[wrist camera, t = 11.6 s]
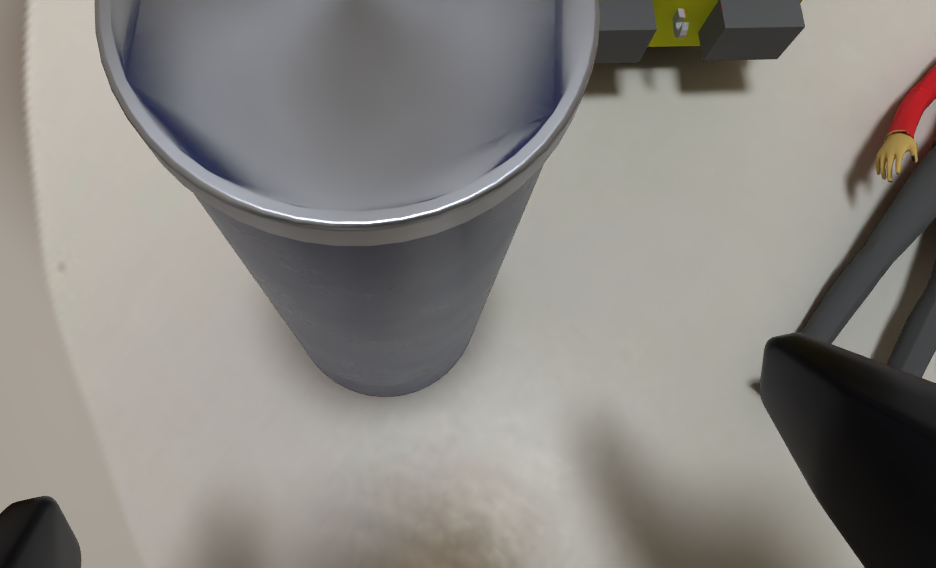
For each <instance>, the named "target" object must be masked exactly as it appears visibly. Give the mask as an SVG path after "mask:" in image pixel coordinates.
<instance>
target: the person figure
mask: <svg viewBox="0 0 936 568" xmlns="http://www.w3.org/2000/svg"><path fill="white" fill-rule="evenodd" d="M934 99H936V64H935V65H934V66H933V67H932V68H931V69H930V70H929V72H928V73H927V74H926V75H925V76H924V77H923V78H922V79H921V80H920V81H919V82H918V83H917V84H916V85H915V86H914V87H913V88H912V89H911V90H910V91H909V92H908V94H907V95H906V97H905V98H904V100H903V101H902V102H901V103H900V105H899V107H898V109H897V111H896V113H895V115H894V118H893V121H892V124H891V126H890V129H889V131H888V134H887V136H886V138H885V140H884V145H883V146H882V147H881V149H880V150H879V152H878V153H877V157H876V171H877V174H878V175H879V174H880V170H881V174H882V178H883V179H886V169H885V165H886V161H887V165H886V168H887V178H888V182H890V183H891V182H892V166H893V161H894V159H895V158H896V174H900V171H901V162H902V158H903V155H904V153H905V152H907V151H909V152H910V154H911V157H912V161H913V162H914V163H916V162H918V157H917V143H916V142H915V140H914V139H913V138H914V133H915V130H916V127H917V125H918V123H919V120H920V118H921V116H922V114H923V112H924V110H925V109H926V108H927V107H928V106H929V105H930V104H931V103H932V102H933V100H934ZM935 218H936V140H935V141H934V142H933V143H932V145H931V147H930V149H929V151H928V154H927V155H926V156H925V157H924V158H923V159H922V161H921V162H920V164H919V165H918V166H917V167H916V168H915V170H914V171H913V173H912V174H911V176H910V177H909V179H908V181H907V182H906V183H905V185H904V186H903V187H902V189H901V190H900V192H899V193H898V195H897V196H896V198H895V199H894V201H893V203H892V204H891V206H890V207H889V209H888V210H887V212H886V213H885V215H884V216H883V217H882V219H881V220H880V222H879V223H878V225H877V226H876V228H875V229H874V230H873V232H872V233H871V235H870V237H869V239H868V241H867V243H866V245H865V246H864V247H863V248H862V249H861V250H860V251H859V253H858V254H857V255H856V256H855V257H854V258H853V260H852V261H851V262H850V263H849V265H848V266H847V267H846V268H845V269H844V271H843V272H842V273H841V274H840V276H839V277H838V278H837V280H836V281H835V282H834V284H833V285H832V287H831V288H830V289H829V291H828V292H827V294H826V295H825V297H824V298H823V300H822V301H821V303H820V304H819V306H818V307H817V309H816V310H815V312H814V313H813V315H812V316H811V318H810V319H809V321H808V322H807V324H806V325H805V327H804V328H803V330H802V331H801V333H802V334H805V335H808V336H811V337H813V338H816V339H819V340H821V341H824V342H827V343H829V344H831V343H832V342H833V341H834V340H835V338H836V337H837V336H838V334H839V333H840V332H841V330H842V329H843V328H844V326H845V325H846V324H847V322H848V321H849V320H850V318H851V317H852V316H853V314H854V313H855V312H856V311H857V309H858V308H859V307H860V305H861V304H862V303H863V301H864V300H865V299H866V297H867V296H868V295H869V294H870V292H871V291H872V290H873V288H874V287H875V285H876V284H877V283H878V281H879V280H880V279H881V277H882V276H883V275H884V273H885V272H886V271H887V270H888V268H889V267H890V266H891V264H892V263H893V262H894V261H895V260H896V259H897V258H898V257H899V256H900V255H901V254H902V253H903V252H904V251H905V250H906V249H907V248H908V247H909V246H910V244H911V243H912V242H913V241H914V240H915V239H916V238H917V237H918V236H919V235H920V234H921V233H922V232H923V231H924V230H925V228H926V227H927V226H928V225H929V224H930V223H931V222H932V221H933V220H934V219H935ZM935 350H936V260H935V263H934V267H933V270H932V273H931V277H930V279H929V281H928V284H927V286H926V288H925V290H924V293H923V295H922V296H921V298H920V299H919V300H918V302H917V304H916V305H915V307H914V308H913V310H912V312H911V313H910V315H909V317H908V319H907V321H906V323H905V325H904V327H903V329H902V331H901V334H900V336H899V338H898V340H897V342H896V344H895V347H894V349H893V351H892V353H891V355H890V358H889V360H888V363H887V365H888V366H891V367H893V368H896V369H899V370H901V371H904V372H907V373H909V374H912V375H915V376H917V377H920V378H922V376H923V374H924V372H925V370H926V368H927V366H928V364H929V362H930V360H931V358H932V356H933V354H934V352H935Z"/></svg>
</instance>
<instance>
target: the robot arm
mask: <svg viewBox="0 0 936 568" xmlns="http://www.w3.org/2000/svg"><path fill="white" fill-rule="evenodd" d="M760 395H761V399H762V402H763V404H764V406H765V408H766V410H767V412H768V414H769V415H770V417H771V419H772V421H773V422H774V424H775V426H776V428H777V430H778V431H779V433H780V435H781V437H782V439H783V440H784V442H785V444H786V446H787V447H788V449H789V451H790V453H791V455H792V456H793V458H794V460H795V462H796V464H797V465H798V467H799V469H800V471H801V472H802V474H803V476H804V478H805V480H806V481H807V483H808V485H809V487H810V488H811V490H812V492H813V493H814V495H815V497H816V498H817V500H818V501H819V503H820V504H821V506H822V507H823V509H824V510H825V512H826V513H827V515H828V516H829V518H830V519H831V520H832V522H833V523H834V525H835V526H836V527H837V529H838V530H839V532H840V533H841V535H842V536H843V537H844V539H845V540H846V542H847V543H848V544H849V546H850V547H851V549H852V550H853V551H854V553H855V554H856V556H857V557H858V558H859V560H860V561H861V563H862V564H863V566H864V567H865V568H936V383H933V382H931V381H928V380H925V379H923V378H920V377H917V376H915V375H912V374H909V373H907V372H904V371H901V370H899V369H896V368H893V367H891V366H888V365H885V364H883V363H880V362H877V361H875V360H872V359H869V358H867V357H864V356H861V355H859V354H856V353H853V352H851V351H848V350H845V349H843V348H840V347H837V346H835V345H832V344H829V343H827V342H824V341H821V340H819V339H816V338H813V337H811V336H808V335H805V334H802V333H790V334H786V335H781V336H776V337H773V338H771V339H769V340H768V341H767V343H766V345H765V349H764V356H763V364H762V372H761V379H760ZM0 568H81V551H80V547H79V543H78V541H77V539H76V537H75V535H74V533H73V531H72V530H71V528H70V526H69V524H68V522H67V520H66V518H65V516H64V514H63V513H62V511H61V509H60V507H59V505H58V504H57V502H56V501H55V500H54V499H53V498H52V497H49V496H41V497H36V498H32V499H27V500H23V501H18V502H15V503H13V504H11V505H10V506H8V507H7V508H6V509H5V510H4V511H3V512H2V513H1V514H0Z"/></svg>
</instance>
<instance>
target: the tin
mask: <svg viewBox="0 0 936 568" xmlns="http://www.w3.org/2000/svg"><path fill="white" fill-rule="evenodd" d="M599 24H600V10H599V0H95V27H96V37H97V42H98V47H99V52H100V57H101V62H102V65H103V67H104V70H105V73H106V76H107V78H108V81H109V84H110V87H111V89H112V92H113V94H114V95H115V97H116V99H117V101H118V103H119V104H120V106H121V108H122V110H123V112H124V114H125V115H126V117H127V119H128V120H129V121H130V123H131V124H132V125H133V127H134V128H135V130H136V131H137V132H138V134H139V135H140V136H141V138H142V139H143V140H144V141H145V143H146V144H147V145H148V147H149V148H150V149H151V151H152V152H153V153H154V155H155V156H156V157H157V159H158V160H159V161H160V163H161V164H162V165H163V166H164V167H165V168H166V169H167V170H168V171H169V172H170V173H171V174H172V175H173V176H174V177H175V178H176V179H177V180H178V181H179V182H181V183H182V184H183V185H184V186H185V187H186V188H188V189H189V190H190V191H192V192H193V193H194V195H195V196H196V197H197V199H198V200H199V202H200V203H201V204H202V206H203V207H204V209H205V210H206V211H207V213H208V214H209V216H210V217H211V218H212V220H213V221H214V223H215V224H216V225H217V227H218V228H219V230H220V231H221V232H222V234H223V235H224V237H225V238H226V239H227V241H228V242H229V244H230V245H231V246H232V248H233V249H234V251H235V252H236V253H237V255H238V256H239V258H240V259H241V260H242V262H243V263H244V265H245V266H246V267H247V269H248V270H249V272H250V273H251V274H252V276H253V277H254V279H255V280H256V281H257V283H258V284H259V286H260V287H261V288H262V290H263V291H264V293H265V294H266V296H267V297H268V298H269V300H270V301H271V303H272V304H273V305H274V307H275V308H276V310H277V311H278V312H279V314H280V315H281V317H282V318H283V319H284V321H285V322H286V324H287V325H288V326H289V328H290V329H291V331H292V332H293V333H294V335H295V336H296V338H297V339H298V340H299V342H300V343H301V345H302V346H303V347H304V349H305V350H306V352H307V353H308V354H309V356H310V357H311V358H312V360H313V361H314V362H315V364H316V365H317V366H318V367H319V368H320V369H321V370H322V371H323V372H324V373H325V374H326V375H327V376H328V377H330V378H331V379H332V380H334V381H335V382H337V383H338V384H340V385H342V386H344V387H345V388H348V389H350V390H353V391H355V392H358V393H362V394H366V395H372V396H398V395H405V394H408V393H412V392H415V391H418V390H420V389H423V388H425V387H427V386H429V385H431V384H432V383H434V382H436V381H437V380H439V379H440V378H441V377H442V376H444V375H445V374H446V373H447V372H448V371H449V370H450V369H451V368H452V367H453V366H454V365H455V364H456V363H457V361H458V360H459V359H460V357H461V356H462V354H463V352H464V351H465V349H466V347H467V345H468V343H469V340H470V338H471V336H472V333H473V331H474V329H475V326H476V324H477V321H478V319H479V317H480V314H481V312H482V310H483V307H484V305H485V302H486V300H487V298H488V295H489V293H490V291H491V288H492V286H493V283H494V281H495V279H496V276H497V274H498V272H499V269H500V267H501V264H502V262H503V260H504V257H505V255H506V252H507V250H508V248H509V245H510V243H511V241H512V238H513V236H514V233H515V231H516V229H517V226H518V224H519V222H520V219H521V217H522V214H523V212H524V210H525V207H526V205H527V203H528V200H529V198H530V195H531V193H532V191H533V188H534V186H535V184H536V181H537V179H538V176H539V174H540V172H541V169H542V167H543V165H544V162H545V161H546V160H547V158H548V157H549V156H550V155H551V153H552V152H553V151H554V149H555V148H556V147H557V146H558V144H559V142H560V141H561V139H562V137H563V135H564V134H565V132H566V130H567V128H568V127H569V125H570V123H571V121H572V119H573V117H574V115H575V113H576V110H577V108H578V106H579V104H580V102H581V99H582V97H583V94H584V92H585V89H586V86H587V84H588V81H589V79H590V76H591V73H592V70H593V65H594V61H595V56H596V52H597V47H598V39H599Z"/></svg>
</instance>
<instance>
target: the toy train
mask: <svg viewBox="0 0 936 568" xmlns="http://www.w3.org/2000/svg"><path fill="white" fill-rule="evenodd" d="M801 1H802V0H599V10H600V24H599V39H598V47H597V52H596V56H595V61H594V63H631V62H640V60H641V58H642V56H643V54H644V53H645V51H646V49H647V47H669V46H700V47H701V52H702V58H703V61H714V60H756V59H778V57H779V56H780V55H781V54H782V53H783V52H784V50H785V49H786V48H787V47H788V46H789V45H790V43H791V42H792V41H793V40H794V39H795V38H796V37H797V35H798V34H799V33H800V32H801V31H802V30H803V28H804V27H805V24H804V20H803V15H802V10H801V6H800V3H801Z"/></svg>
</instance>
